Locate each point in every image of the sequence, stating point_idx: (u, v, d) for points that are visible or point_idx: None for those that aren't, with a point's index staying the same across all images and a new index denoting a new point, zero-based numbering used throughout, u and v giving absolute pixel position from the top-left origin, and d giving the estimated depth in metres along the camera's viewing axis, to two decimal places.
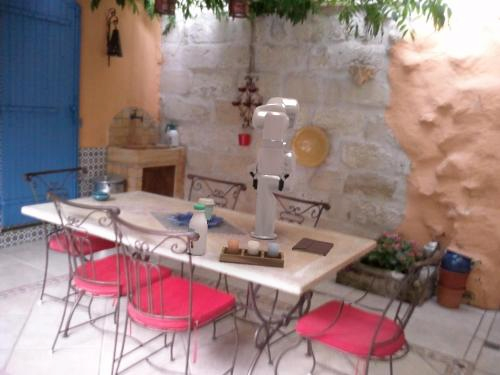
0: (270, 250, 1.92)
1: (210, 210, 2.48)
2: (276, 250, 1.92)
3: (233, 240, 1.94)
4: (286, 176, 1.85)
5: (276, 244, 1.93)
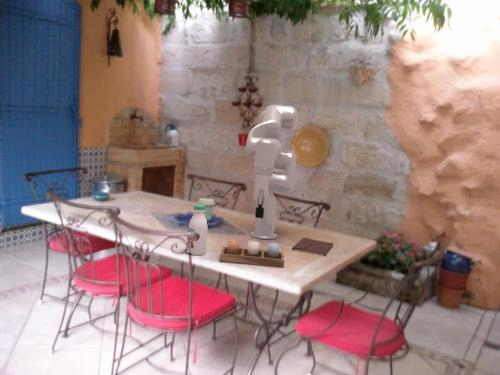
0: (270, 250, 1.92)
1: (210, 210, 2.48)
2: (276, 250, 1.92)
3: (233, 240, 1.94)
4: None
5: (276, 244, 1.93)
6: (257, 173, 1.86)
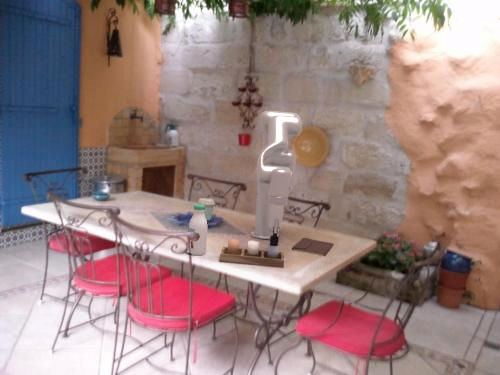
0: (269, 251, 1.92)
1: (210, 210, 2.48)
2: (276, 251, 1.92)
3: (233, 240, 1.94)
4: None
5: None
6: (272, 202, 1.88)
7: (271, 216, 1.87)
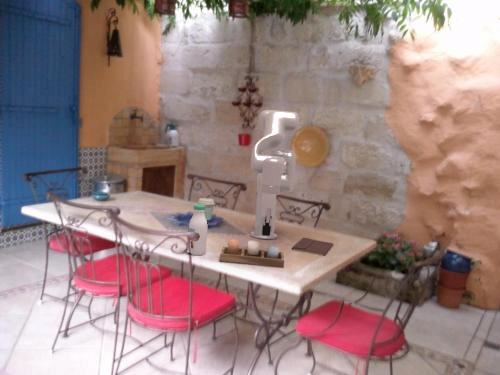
0: (269, 254, 1.93)
1: (210, 210, 2.48)
2: (276, 254, 1.92)
3: (233, 240, 1.94)
4: None
5: (276, 248, 1.94)
6: (264, 192, 1.87)
7: (263, 205, 1.86)
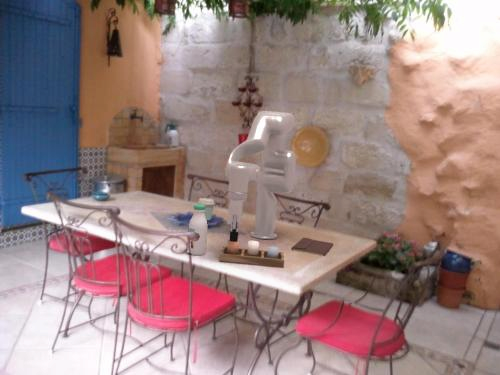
0: (269, 254, 1.93)
1: (210, 210, 2.48)
2: (276, 254, 1.92)
3: None
4: None
5: (276, 248, 1.94)
6: (231, 198, 1.88)
7: (229, 212, 1.87)
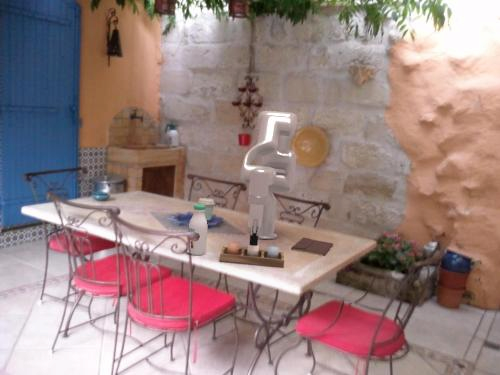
0: (269, 254, 1.93)
1: (210, 210, 2.48)
2: (276, 254, 1.92)
3: (233, 244, 1.94)
4: None
5: (276, 248, 1.94)
6: (251, 202, 1.88)
7: (250, 216, 1.87)
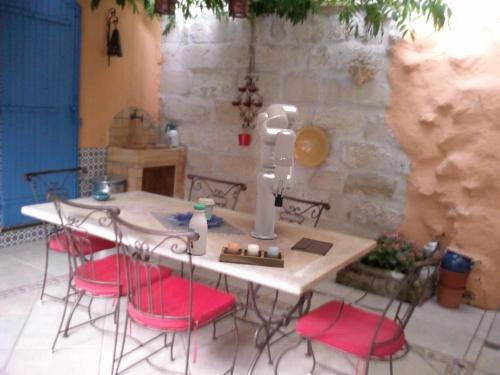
0: (269, 254, 1.93)
1: (210, 210, 2.48)
2: (276, 254, 1.92)
3: (233, 244, 1.94)
4: None
5: (276, 248, 1.94)
6: (277, 164, 1.92)
7: (275, 177, 1.91)
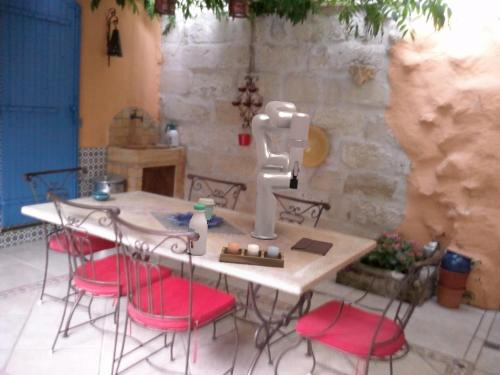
0: (269, 254, 1.93)
1: (210, 210, 2.48)
2: (276, 254, 1.92)
3: (233, 244, 1.94)
4: None
5: (276, 248, 1.94)
6: (292, 145, 1.94)
7: (291, 158, 1.93)
